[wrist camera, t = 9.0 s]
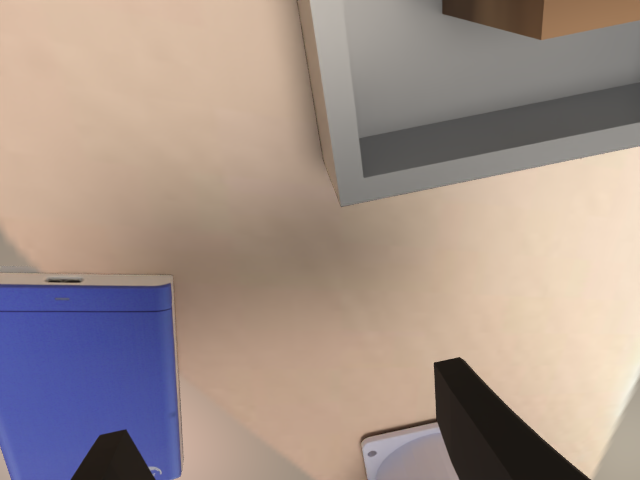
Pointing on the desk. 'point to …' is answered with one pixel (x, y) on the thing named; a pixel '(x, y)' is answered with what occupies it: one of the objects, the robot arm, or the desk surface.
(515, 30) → the walnut block
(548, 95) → the grey bin
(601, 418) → the desk surface
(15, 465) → the hard drive
